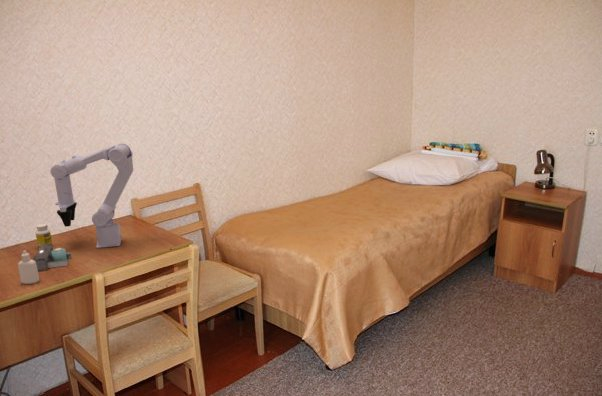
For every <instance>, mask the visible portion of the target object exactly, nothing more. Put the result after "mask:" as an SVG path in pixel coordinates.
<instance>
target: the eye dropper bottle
mask: <svg viewBox="0 0 602 396" xmlns="http://www.w3.org/2000/svg"><path fill="white" fill-rule="evenodd" d="M20 256H21V260H20V261H19V262H18V263H17V267H18V273H19V278H20V283H21V284H26V285H27V284H29V285H32V284H36V283H38V282H39V281H40V276H39V271H38V270H37V265H36V262H35V261H34V260H33V259H31V256H30V253H29V252H27V250H22V254H21V255H20Z"/></svg>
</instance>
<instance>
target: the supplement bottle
mask: <svg viewBox="0 0 602 396" xmlns="http://www.w3.org/2000/svg"><path fill="white" fill-rule="evenodd" d="M35 237H36V243H37V244H36V245H37V248H38V250H39V249H40V247H41V246H42V245H43V244H50V245H51V246H52V247H53V239H52V234H51V230H50V229H49V228H48V223H39V224H37V225H36V230H35Z"/></svg>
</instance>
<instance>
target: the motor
mask: <svg viewBox="0 0 602 396" xmlns="http://www.w3.org/2000/svg"><path fill="white" fill-rule="evenodd" d="M52 250H54V247H53V245H52V246H51V245H50V244H43V245H42V246H41V247H40V249H39V248H38V250H37V251H36V253H35V254H34V256H33V259H32V260H34V261H35V262H36V265H37V270H38V272H40V271H41V272H42V271H47V270H48V269H52V268H61V267H68V266H69V262H68V260H69V259H72V258H73V255H72V252H66V256H67V260H63V261H54V262H53V257H52V252H51V251H52Z"/></svg>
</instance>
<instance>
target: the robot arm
mask: <svg viewBox="0 0 602 396" xmlns="http://www.w3.org/2000/svg"><path fill="white" fill-rule="evenodd" d="M133 154H134V153H133V152H132V150H131V147H130V146H129V145H127V144H126V143H119V144H117V145H112V146H108V147H105V148H104V147H103V148H102V149H100V150H98V151H96V152H92V153H91V154H88V155H85V156H81V155H72V156H71V158H69V159H67V160H61V162H59V163H56V164H54V165H53V166H52V167H51V168H50V175H51V177H53V178H54V184H55V191H56V197H57V202H55V206H59V209H58V210H57V211H56V213H57V215H58V216H59V218H60V219H61V220H62V224H63V226H64V227H71V225H72V221H75V217H76V207H77V205H78V202H75V200H74V195H73V189H72V188H73V187H72V182H71V176H70V175H74V174H75V173H79V172H81V171H83V170H85V169H86V168H87V166H88V165H89V164H92V163H95V162H98V161H100V160H105V161H107V162H108V161H110V162H111V163H112V164H113V165H114V166H115V167H116V169H117V170H118V172H117V174H116V176H115V177H114V180H113V183H112V185H111V186H110V188H109V190H108V192H107V194H106V196H105V198H104V201H103V202H102V204H101V205H100V206H99V208H98V209H97V212H95V213H94V214H92V216H91V222H92V223H93V225H94V226H95V233H96V239H97V242H96V243H97V244H96V246H95V248H96V249H100V248H110V247H120V246H121V244H122V240H123V239H122V232H121V226H120V223H119V222H114V220H113V218H114V217H115V210H116V208H117V203H118V202H119V200H120V198H121V196H122V193H123V192H124V190H125V188H126V186H127V183H128V182H129V180H130V178H131V176H132V174H133V171H134V164H133Z"/></svg>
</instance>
